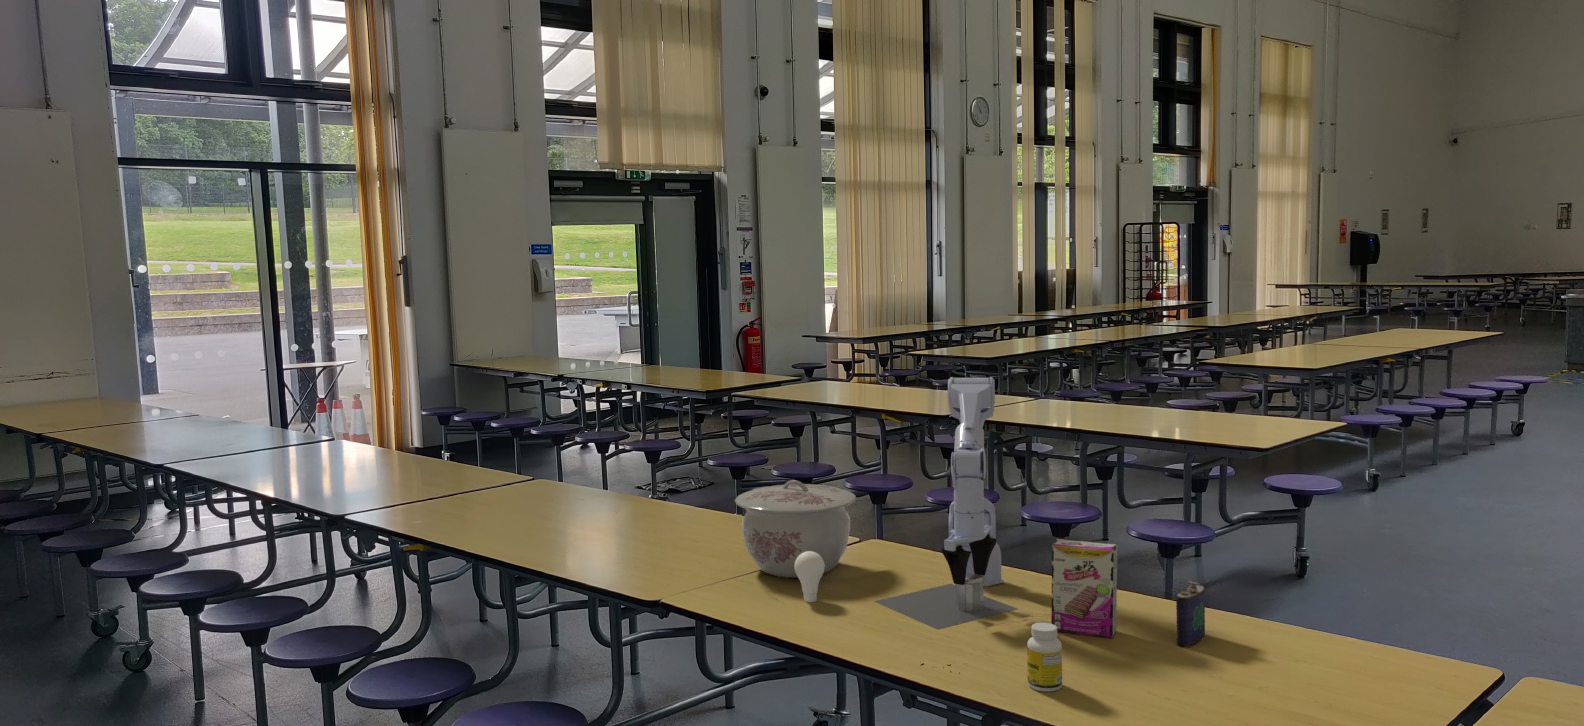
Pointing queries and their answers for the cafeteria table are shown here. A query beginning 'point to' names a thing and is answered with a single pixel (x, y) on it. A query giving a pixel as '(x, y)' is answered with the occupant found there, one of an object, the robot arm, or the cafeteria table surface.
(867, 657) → the cafeteria table surface
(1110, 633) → the candy bar box
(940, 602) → the base board
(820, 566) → the lightbulb
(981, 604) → the cylinder
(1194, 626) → the flask
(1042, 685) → the supplement bottle
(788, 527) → the chamber pot
